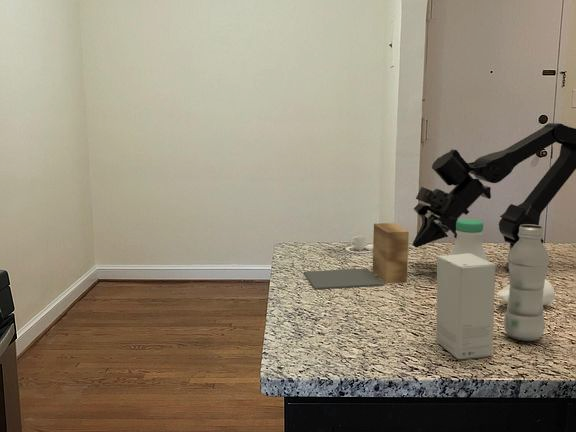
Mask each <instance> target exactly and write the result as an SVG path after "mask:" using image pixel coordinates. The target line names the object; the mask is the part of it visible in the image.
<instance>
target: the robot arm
mask: <svg viewBox="0 0 576 432" xmlns="http://www.w3.org/2000/svg"><path fill="white" fill-rule="evenodd" d="M555 143H557V144H560V150H559V156H558V157H557V159H556V160H555V162H554V163H552V165H551V166H550V167H549V168H548V170H547V171H546V173H545V174H544V175H543V176H542V178H541V179H540V180H539V181H538V183H537V184H536V185H535V186H534V188H533V190H532V191H530V193H529V194H528V196H527V197H526V198H525V200H524V201H523V202H522V203H519V204H518V205H515V204H512V203H511V204H509V205H508V207H507V208H506V210H505V211H504V213H503V214H500V215H499V218H501V219H500V220H499V222H498V230H499V232H500V234H501V235H502V236H503V240H504V242H506V243H509V250H510V249H511V248H512V247H513V246H514V244H515V243H516V242H517V241H518V240H519V238H520V237H518V233H519V227H520V225H525V224H530V225H538V226H540V220H541V214H542V213H543V212H544V210H545V209H546V208H547V207H548V206H549V205H550V203H551V201H552V200H553V199H554V198H555V197H556V196H557V193H559V191H560V190H561V189H562V188H563V186H565V183H566V182H567V181H568V180H569V178H571V176H572V175H573V173H574V172H575V171H576V128H575V127H571V126H569V125H566V124H563V123H557V122H556V123H555V122H549V123H547V124H545V125H543V127H541V128H540V129H538V130H536V131H535V132H533V133H532V134H531V133H530V135H528V136H526V137H524V138H522V139H521V140H519V141H517V142H515V143H514V144H512V145H511V146H509V147H507V148H505V149H503V150H500V151H494V152H491V153H488V154H485V155H482V156H480V157H478V158H476V159H475V161H472V162H467V161H466V160H465V158H463V157H462V156H461V154H460V152H459V150H457V149H454V148H453V149H451V150H449V151H448V152H446V153H444V154H442V155H441V156H438V158H436V160H435V161H434V162H433V163H432V164H431V169H432V170H433V171H434V172H435V173H436V175H437V176H439V177H440V179H441V180H442V181H443V182H444V183H445V184H446V185H447V186H454V187H453V188H452V189H451V190H450V191H449V192H445V191H443V190H441V189H438V188H435V189H434V190H431V189H428V188H426V187H424V186H421V187H420V189H419V191H418V193H417V195H416V197H415V200H417V201H420V202H422V203H417V204H416V206H415V207H413V210H414V211H415V213H416V214H417V215H419V217H420V218H421V225H420V228H419V230H418V232H417V234H416V236H415V238H414V240H413V242H412V246H413V247H414V248H419V247H422V246H424V245H426V244H429V243H433V242H435V241H438V240H441V239H444V238H448V237H449V235H448V233H449V232H450V231H451V233H453V235H454V236H453V237H454V239H456V238H457V233H456V222H457V220H459V218H460V217H462V215H465V216H467V215H468V214H469V213H470V211H469V208H471V206H473V204H474V203H475V202H476V201H477V200H479V198H480V197H482V198H484V199H488V200H490V199H492V198H491V197H492V195H491V190H492V188H491V187H490V186H487V185H484V183H482V181H483V182H487V183H490V184H498V183H500V182H501V181H503V180H504V179H505V178H506V177H507V176H509V175H510V174H511V173H512V172H513V170H514V169H515V167H516V166H518V165H519V164H520V163H522V162H524V161H526V160H527V159H529V158H530V157H533V156H534V155H535V154H538V153H539V152H541V151H543V150H544V149H546V148H548V147H550V146H551V145H553V144H555ZM472 175H473V176H474V177H475V178H474V177H472ZM544 241H545V240H544V239H543V238H542V239H541V242H542V244H543V245H544ZM505 267H506V271H507V272H509V264H508V262H507V263H506V266H505Z"/></svg>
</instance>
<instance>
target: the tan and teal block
mask: <svg viewBox="0 0 576 432" xmlns="http://www.w3.org/2000/svg"><path fill="white" fill-rule="evenodd" d="M409 232H410V231H408V230H407V229H405V228H403V227H401V226H399V225H397V224H396V223H394V222H386V223H385V222H384V223H373V241H372V244H373V251H372V273H373V274H374V275H375V276H376V277H377V278H378V279H379V280H380V279H381V280H380V281H382V282H383V283H384V284H402V283H405V284H406V283H408V261H409V260H408V259H409V258H408V257H409V256H408V255H409V235H410V233H409Z"/></svg>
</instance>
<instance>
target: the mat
mask: <svg viewBox="0 0 576 432" xmlns="http://www.w3.org/2000/svg"><path fill="white" fill-rule="evenodd" d="M303 274H304V276H305V277H306V279H307V281H308V282H309V283H310V285H311V286H312V288H313V289H314V290H330V289H333V290H334V289H348V288H349V289H350V288H363V287H364V288H365V287H383V286H385V282H383V281H382V280H380V278H379V277H378V276H377V275H376V274H375V273H374V272H373V271H371V270H369V268H367V267H366V268H365V267H364V268H363V267H362V268H348V269H346V268H345V269H343V268H342V269H328V270H327V269H326V270H310V271H309V270H308V271H306V270H305V271H303Z"/></svg>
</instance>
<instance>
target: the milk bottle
mask: <svg viewBox="0 0 576 432" xmlns="http://www.w3.org/2000/svg"><path fill="white" fill-rule="evenodd" d="M483 230H484V222H483V221H482V220H478V219H474V218H463V219H457V222H456V233H457V238H455V241H454V244H453V247H452V249H451V250H450V251H449V253H448V255H456V254H466V253H471V254H473V255H475V256H477V257H480V258H482V259H484V260H487V261H489V260H488V256H487V254H486V252H485V248H484V246H483V242H482V235H483V234H484V233H483Z"/></svg>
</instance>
